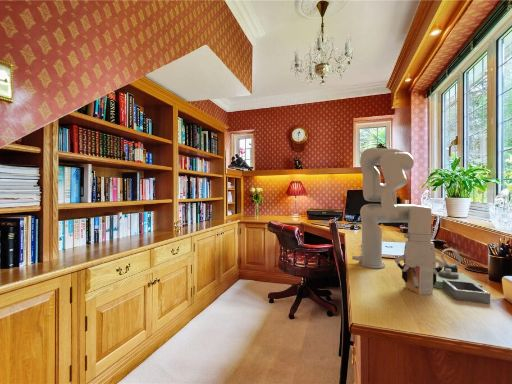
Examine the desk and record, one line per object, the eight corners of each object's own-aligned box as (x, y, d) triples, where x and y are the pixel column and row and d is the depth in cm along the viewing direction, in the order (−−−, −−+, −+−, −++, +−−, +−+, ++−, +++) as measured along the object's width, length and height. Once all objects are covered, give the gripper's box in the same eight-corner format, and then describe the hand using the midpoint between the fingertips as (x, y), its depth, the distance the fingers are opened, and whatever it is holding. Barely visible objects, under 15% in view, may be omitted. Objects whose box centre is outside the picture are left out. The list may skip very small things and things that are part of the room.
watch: (462, 275, 122) (463, 251, 121) (441, 272, 125) (442, 249, 125) (459, 271, 127) (460, 248, 127) (439, 269, 130) (439, 247, 130)
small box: (404, 287, 105) (405, 260, 105) (418, 286, 106) (418, 260, 106) (419, 294, 97) (419, 266, 97) (433, 294, 98) (433, 266, 98)
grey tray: (455, 300, 93) (455, 290, 93) (442, 288, 104) (442, 279, 104) (490, 303, 90) (490, 293, 90) (472, 291, 102) (472, 282, 102)
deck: (433, 287, 105) (434, 273, 105) (421, 275, 121) (421, 263, 121) (482, 292, 101) (482, 277, 101) (462, 278, 116) (463, 266, 116)
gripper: (396, 238, 100) (395, 283, 101) (449, 241, 95) (448, 288, 96) (392, 234, 108) (391, 277, 108) (441, 237, 103) (441, 281, 103)
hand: (418, 282), depth 102 cm, fingers open, 8 cm apart
